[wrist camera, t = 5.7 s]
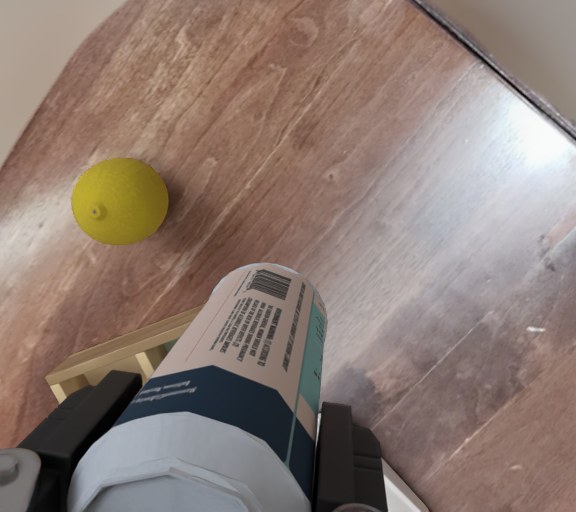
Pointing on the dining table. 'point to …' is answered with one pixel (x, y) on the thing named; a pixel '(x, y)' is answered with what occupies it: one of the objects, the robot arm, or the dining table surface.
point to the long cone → (396, 490)
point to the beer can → (221, 409)
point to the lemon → (120, 201)
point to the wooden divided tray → (120, 355)
